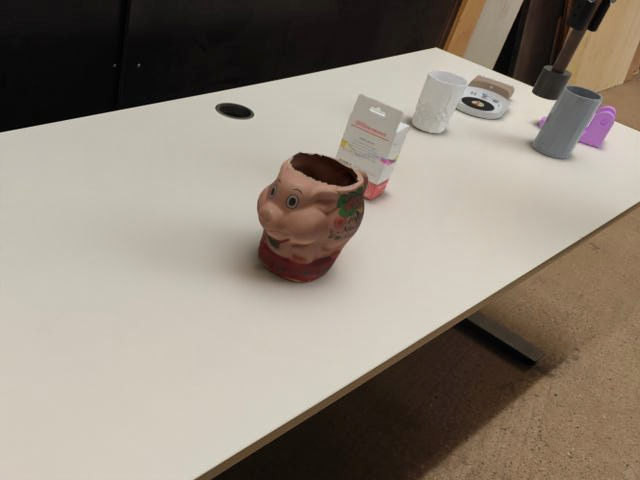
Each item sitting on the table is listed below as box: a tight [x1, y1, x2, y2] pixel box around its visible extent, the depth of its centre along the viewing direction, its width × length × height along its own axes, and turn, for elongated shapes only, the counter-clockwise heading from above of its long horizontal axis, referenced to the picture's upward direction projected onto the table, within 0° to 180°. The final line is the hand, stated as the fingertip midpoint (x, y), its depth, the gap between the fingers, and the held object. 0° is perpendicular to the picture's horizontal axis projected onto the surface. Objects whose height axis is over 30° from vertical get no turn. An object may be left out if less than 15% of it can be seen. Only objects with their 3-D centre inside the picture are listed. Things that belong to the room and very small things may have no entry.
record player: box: [456, 74, 516, 120], centre depth 152 cm, size 12×3×20 cm
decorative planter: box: [256, 151, 368, 283], centre depth 89 cm, size 20×12×14 cm, turn 135°
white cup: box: [411, 69, 469, 134], centre depth 135 cm, size 8×8×10 cm
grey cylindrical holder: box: [532, 84, 604, 160], centre depth 134 cm, size 7×7×12 cm
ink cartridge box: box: [335, 93, 411, 201], centre depth 108 cm, size 9×5×15 cm, turn 47°
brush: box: [531, 0, 603, 101], centre depth 106 cm, size 4×4×16 cm
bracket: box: [538, 105, 617, 149], centre depth 145 cm, size 13×6×7 cm, turn 59°
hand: (580, 27), depth 104 cm, fingers closed on brush, 2 cm apart
